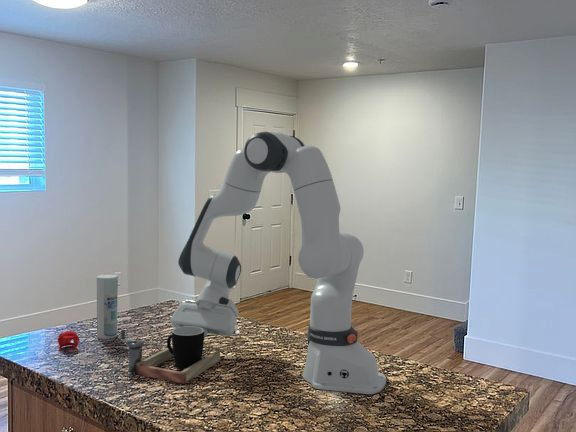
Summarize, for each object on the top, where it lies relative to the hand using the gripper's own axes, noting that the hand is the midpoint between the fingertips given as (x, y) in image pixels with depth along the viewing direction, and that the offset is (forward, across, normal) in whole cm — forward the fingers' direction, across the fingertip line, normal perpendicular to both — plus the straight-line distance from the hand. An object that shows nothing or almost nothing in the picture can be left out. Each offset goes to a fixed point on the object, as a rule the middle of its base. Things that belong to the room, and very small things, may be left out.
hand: (193, 343), depth 158 cm
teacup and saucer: (-18, -2, +26) cm, 31 cm away
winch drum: (+13, -11, -7) cm, 18 cm away
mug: (+7, 0, 0) cm, 7 cm away
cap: (+10, -39, -2) cm, 40 cm away
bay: (+8, 0, -2) cm, 9 cm away
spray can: (-1, -37, +8) cm, 38 cm away
